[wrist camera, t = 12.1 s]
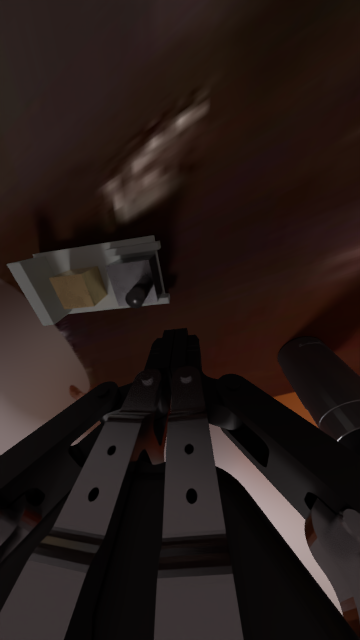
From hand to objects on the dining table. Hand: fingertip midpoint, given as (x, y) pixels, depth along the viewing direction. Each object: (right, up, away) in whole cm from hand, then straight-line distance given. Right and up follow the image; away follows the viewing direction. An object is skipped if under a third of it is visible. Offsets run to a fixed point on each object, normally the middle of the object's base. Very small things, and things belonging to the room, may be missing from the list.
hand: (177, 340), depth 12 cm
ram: (-6, +9, +17) cm, 20 cm away
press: (-13, +9, +20) cm, 25 cm away
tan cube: (-15, +8, +19) cm, 26 cm away
